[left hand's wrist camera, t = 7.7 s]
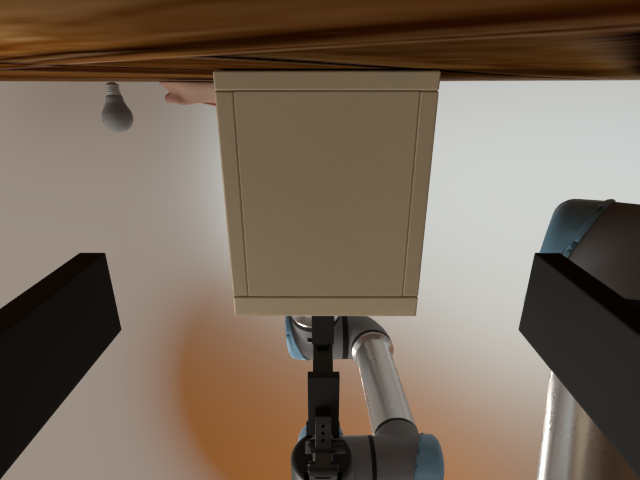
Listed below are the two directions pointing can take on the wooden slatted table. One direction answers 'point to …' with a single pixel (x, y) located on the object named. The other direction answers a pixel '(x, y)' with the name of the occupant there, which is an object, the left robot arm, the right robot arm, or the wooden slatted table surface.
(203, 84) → the anatomical model
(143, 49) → the wooden slatted table surface
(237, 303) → the lid
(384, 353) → the right robot arm
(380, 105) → the chest
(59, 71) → the wooden slatted table surface
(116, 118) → the light bulb
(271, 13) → the wooden slatted table surface
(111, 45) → the wooden slatted table surface
